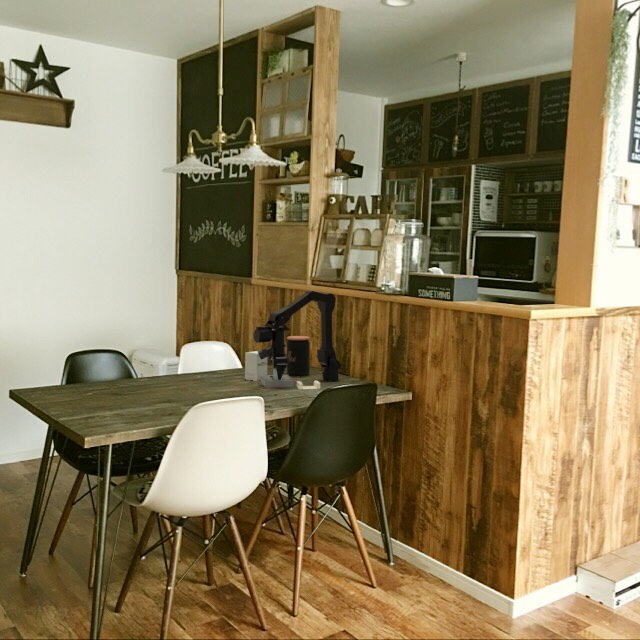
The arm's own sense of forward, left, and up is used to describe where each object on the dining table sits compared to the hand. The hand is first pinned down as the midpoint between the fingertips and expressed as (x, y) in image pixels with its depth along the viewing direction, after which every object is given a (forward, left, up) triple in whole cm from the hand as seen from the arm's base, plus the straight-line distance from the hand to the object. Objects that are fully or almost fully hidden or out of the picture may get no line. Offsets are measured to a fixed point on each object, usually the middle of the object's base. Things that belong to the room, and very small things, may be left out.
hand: (277, 378), depth 311 cm
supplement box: (+7, -21, -4) cm, 23 cm away
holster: (-12, +7, -4) cm, 14 cm away
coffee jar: (-14, -32, -4) cm, 36 cm away
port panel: (0, -3, -4) cm, 5 cm away
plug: (0, 0, -3) cm, 3 cm away
